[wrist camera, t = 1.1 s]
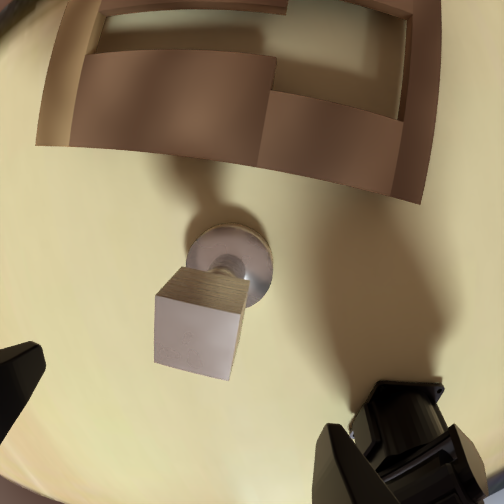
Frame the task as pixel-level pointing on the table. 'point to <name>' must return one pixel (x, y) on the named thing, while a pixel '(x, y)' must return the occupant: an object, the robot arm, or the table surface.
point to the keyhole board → (239, 101)
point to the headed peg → (211, 300)
